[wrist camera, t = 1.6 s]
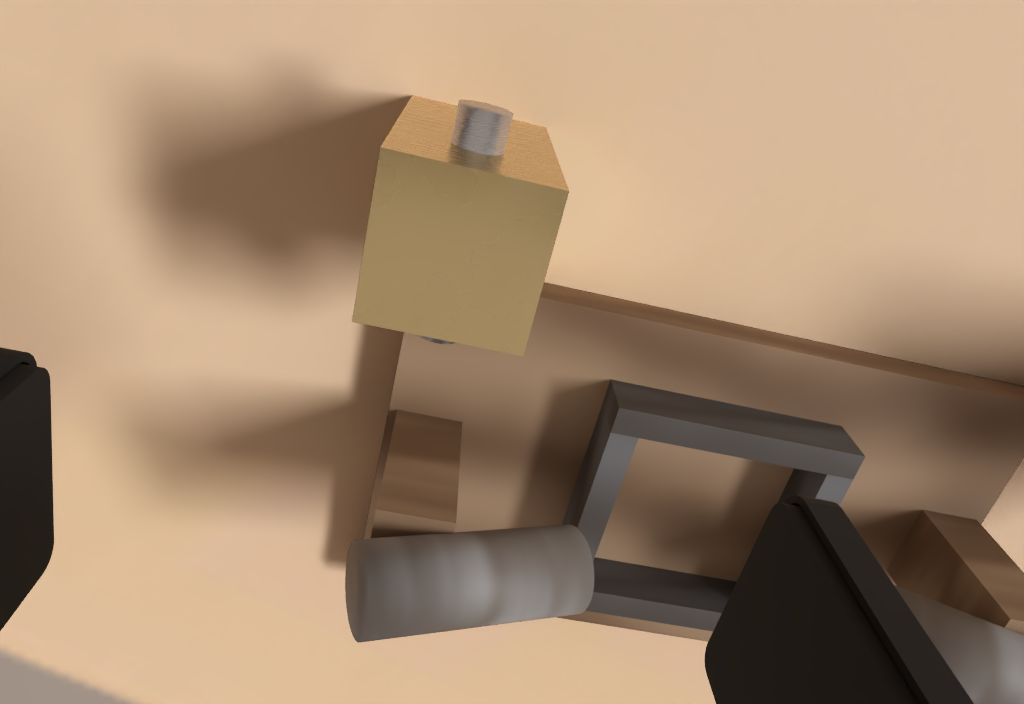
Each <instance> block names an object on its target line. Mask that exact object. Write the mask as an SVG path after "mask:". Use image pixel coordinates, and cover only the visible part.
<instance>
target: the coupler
mask: <svg viewBox="0 0 1024 704" xmlns="http://www.w3.org/2000/svg"><path fill="white" fill-rule="evenodd" d="M512 117H513V113H512V112H510V111H508V110H506V109H503V108H500V107H497V106H494V105H491V104H487V103H483V102H478V101H472V100H459V103H458V106H454V105H450V104H446V103H442V102H438V101H434V100H430V99H426V98H422V97H417V96H413V95H412V97H411V98H410V100H409V102H408V103H407V105H406V106H405V108H404V110H403V111H402V113H401V114H400V116H399V118H398V119H397V121H396V123H395V124H394V126H393V127H392V129H391V131H390V132H389V134H388V135H387V137H386V139H385V140H384V142H383V143H382V145H381V147H380V152H379V158H378V164H377V170H376V176H375V183H374V189H373V195H372V201H371V207H370V213H369V220H368V226H367V232H366V238H365V244H364V250H363V257H362V263H361V269H360V275H359V281H358V287H357V294H356V300H355V306H354V312H353V318H352V322H356V323H361V324H366V325H371V326H376V327H381V328H386V329H391V330H396V331H401V332H406V333H410V334H415V335H418V336H419V337H421V338H423V339H425V340H427V341H430V342H433V343H438V344H453V343H460V344H465V345H469V346H474V347H479V348H484V349H489V350H494V351H499V352H504V353H509V354H514V355H519V356H524V352H525V349H526V345H527V342H528V338H529V334H530V331H531V327H532V323H533V320H534V316H535V313H536V309H537V305H538V302H539V298H540V294H541V291H542V287H543V284H544V280H545V276H546V273H547V269H548V265H549V262H550V258H551V255H552V251H553V247H554V244H555V240H556V236H557V233H558V229H559V226H560V222H561V218H562V215H563V211H564V207H565V204H566V200H567V197H568V193H569V190H568V187H567V184H566V181H565V179H564V176H563V173H562V170H561V168H560V165H559V162H558V159H557V157H556V154H555V151H554V148H553V145H552V143H551V140H550V137H549V134H548V132H547V129H546V128H545V127H541V126H537V125H532V124H528V123H524V122H520V121H516V120H512Z"/></svg>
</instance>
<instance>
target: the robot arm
mask: <svg viewBox="0 0 1024 704" xmlns="http://www.w3.org/2000/svg"><path fill="white" fill-rule="evenodd" d="M53 545H54V525H53V482H52V438H51V395H50V376H49V373H48V371H47V370H46V369H45V368H41V367H37V364H36V361H35V359H34V357H33V356H32V355H31V354H30V353H27V352H21V351H16V350H10V349H5V348H0V631H1V629H2V628H3V627H4V625H5V624H6V623H7V621H8V620H9V619H10V617H11V616H12V615H13V613H14V612H15V611H16V609H17V608H18V607H19V605H20V604H21V602H22V601H23V600H24V598H25V597H26V596H27V594H28V593H29V592H30V590H31V589H32V588H33V586H34V585H35V584H36V582H37V581H38V580H39V578H40V577H41V576H42V574H43V572H44V571H45V569H46V567H47V565H48V563H49V561H50V558H51V555H52V551H53ZM705 669H706V673H707V676H708V679H709V683H710V686H711V689H712V692H713V695H714V698H715V701H716V704H974V703H973V701H972V700H971V698H970V697H969V695H968V694H967V692H966V691H965V690H964V688H963V687H962V685H961V684H960V682H959V681H958V679H957V678H956V676H955V675H954V673H953V672H952V670H951V669H950V667H949V666H948V664H947V663H946V661H945V660H944V659H943V657H942V656H941V654H940V653H939V651H938V650H937V648H936V647H935V645H934V644H933V642H932V641H931V639H930V638H929V636H928V635H927V633H926V632H925V630H924V629H923V628H922V626H921V625H920V623H919V622H918V620H917V619H916V617H915V616H914V614H913V613H912V611H911V610H910V608H909V607H908V605H907V604H906V602H905V601H904V599H903V598H902V596H901V595H900V594H899V592H898V591H897V589H896V588H895V586H894V585H893V583H892V582H891V580H890V579H889V577H888V576H887V574H886V573H885V571H884V570H883V568H882V567H881V565H880V564H879V563H878V561H877V560H876V558H875V557H874V555H873V554H872V552H871V551H870V549H869V548H868V546H867V545H866V543H865V542H864V540H863V539H862V537H861V536H860V534H859V533H858V531H857V530H856V529H855V527H854V526H853V524H852V523H851V521H850V520H849V518H848V517H847V515H846V514H845V512H844V511H843V509H842V508H841V507H840V506H839V505H838V504H837V503H835V502H832V501H826V500H821V499H816V498H810V497H805V496H799V495H793V496H790V497H789V498H788V499H787V500H786V501H785V502H784V503H777V504H776V505H774V506H773V508H772V509H771V511H770V513H769V515H768V517H767V519H766V521H765V523H764V525H763V527H762V529H761V532H760V534H759V536H758V538H757V540H756V542H755V544H754V546H753V548H752V551H751V553H750V555H749V557H748V559H747V561H746V563H745V565H744V567H743V570H742V572H741V574H740V576H739V578H738V580H737V582H736V584H735V586H734V589H733V591H732V593H731V595H730V597H729V599H728V601H727V603H726V605H725V608H724V610H723V612H722V614H721V616H720V618H719V620H718V622H717V624H716V627H715V629H714V631H713V633H712V635H711V637H710V639H709V641H708V644H707V647H706V652H705Z"/></svg>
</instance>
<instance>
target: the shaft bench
mask: <svg viewBox="0 0 1024 704" xmlns="http://www.w3.org/2000/svg"><path fill="white" fill-rule="evenodd" d="M1023 458H1024V386H1019V385H1014V384H1010V383H1005V382H1001V381H996V380H991V379H987V378H982V377H978V376H973V375H968V374H964V373H959V372H954V371H950V370H945V369H941V368H936V367H931V366H927V365H922V364H918V363H913V362H908V361H904V360H899V359H895V358H890V357H885V356H881V355H876V354H871V353H867V352H862V351H858V350H853V349H848V348H844V347H839V346H835V345H830V344H825V343H821V342H816V341H812V340H807V339H802V338H798V337H793V336H788V335H784V334H779V333H775V332H770V331H765V330H761V329H756V328H752V327H747V326H742V325H738V324H733V323H729V322H724V321H719V320H715V319H710V318H705V317H701V316H696V315H692V314H687V313H682V312H678V311H673V310H669V309H664V308H659V307H655V306H650V305H646V304H641V303H636V302H632V301H627V300H623V299H618V298H613V297H609V296H604V295H599V294H595V293H590V292H586V291H581V290H576V289H572V288H567V287H563V286H558V285H553V284H549V283H544V284H543V287H542V291H541V294H540V298H539V302H538V305H537V309H536V313H535V316H534V320H533V323H532V327H531V331H530V334H529V338H528V342H527V345H526V349H525V352H524V356H519V355H514V354H509V353H504V352H499V351H494V350H489V349H484V348H479V347H474V346H469V345H465V344H460V343H453V344H438V343H433V342H430V341H427V340H425V339H423V338H421V337H419V336H418V335H415V334H410V333H406V332H404V334H403V340H402V345H401V350H400V355H399V360H398V365H397V370H396V375H395V380H394V385H393V391H392V396H391V401H390V406H389V411H388V416H387V421H386V426H385V431H384V436H383V441H382V447H381V452H380V457H379V462H378V467H377V472H376V477H375V482H374V487H373V492H372V498H371V503H370V508H369V513H368V518H367V523H366V528H365V533H364V538H363V539H355V540H353V542H352V543H351V545H350V548H349V552H348V557H347V564H346V578H345V590H346V605H347V614H348V620H349V624H350V628H351V632H352V634H353V637H354V638H355V640H356V641H357V642H366V641H374V640H381V639H389V638H397V637H405V636H412V635H420V634H428V633H436V632H444V631H451V630H459V629H467V628H475V627H482V626H490V625H498V624H506V623H513V622H521V621H529V620H537V619H544V618H552V617H558V618H564V619H570V620H576V621H583V622H589V623H595V624H601V625H608V626H614V627H620V628H627V629H633V630H639V631H645V632H652V633H658V634H664V635H670V636H677V637H683V638H689V639H695V640H702V641H709V639H710V637H711V635H712V633H713V631H714V629H715V627H716V624H717V622H718V620H719V618H720V616H721V614H722V612H723V610H724V608H725V605H726V603H727V601H728V599H729V597H730V595H731V593H732V591H733V589H734V586H735V584H736V582H737V580H738V578H739V576H740V574H741V572H742V570H743V567H744V565H745V563H746V561H747V559H748V557H749V555H750V553H751V551H752V548H753V546H754V544H755V542H756V540H757V538H758V536H759V534H760V532H761V529H762V527H763V525H764V523H765V521H766V519H767V517H768V515H769V513H770V511H771V509H772V508H773V506H774V505H776V504H777V503H784V502H785V501H786V500H787V499H788V498H789V497H790V496H793V495H799V496H805V497H810V498H816V499H821V500H826V501H832V502H835V503H837V504H838V505H839V506H840V507H841V508H842V509H843V511H844V512H845V514H846V515H847V517H848V518H849V520H850V521H851V523H852V524H853V526H854V527H855V529H856V530H857V531H858V533H859V534H860V536H861V537H862V539H863V540H864V542H865V543H866V545H867V546H868V548H869V549H870V551H871V552H872V554H873V555H874V557H875V558H876V560H877V561H878V563H879V564H880V565H881V567H882V568H883V570H884V571H885V573H886V574H887V576H888V577H889V579H890V580H891V582H892V583H893V585H894V586H895V588H896V589H897V591H898V592H899V594H900V595H901V596H902V598H903V599H904V601H905V602H906V604H907V605H908V607H909V608H910V610H911V611H912V613H913V614H914V616H915V617H916V619H917V620H918V622H919V623H920V625H921V626H922V628H923V629H924V630H925V632H926V633H927V635H928V636H929V638H930V639H931V641H932V642H933V644H934V645H935V647H936V648H937V650H938V651H939V653H940V654H941V656H942V657H943V659H944V660H945V661H946V663H947V664H948V666H949V667H950V669H951V670H952V672H953V673H954V675H955V676H956V678H957V679H958V681H959V682H960V684H961V685H962V687H963V688H964V690H965V691H966V692H967V694H968V695H969V697H970V698H971V700H972V701H973V703H974V704H1024V573H1023V572H1022V570H1021V569H1020V568H1019V567H1018V566H1017V565H1016V564H1015V563H1014V561H1013V560H1012V559H1011V558H1010V557H1009V556H1008V555H1007V554H1006V552H1005V551H1004V550H1003V549H1002V548H1001V547H1000V546H999V545H998V543H997V542H996V541H995V540H994V539H993V538H992V537H991V536H990V534H989V533H988V532H987V531H986V530H985V529H984V528H983V527H982V525H981V524H982V522H983V521H984V519H985V518H986V516H987V514H988V513H989V511H990V510H991V508H992V507H993V505H994V503H995V502H996V500H997V499H998V497H999V496H1000V494H1001V492H1002V491H1003V489H1004V488H1005V486H1006V485H1007V483H1008V482H1009V480H1010V478H1011V477H1012V475H1013V474H1014V472H1015V471H1016V469H1017V467H1018V466H1019V464H1020V463H1021V461H1022V460H1023Z"/></svg>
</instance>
